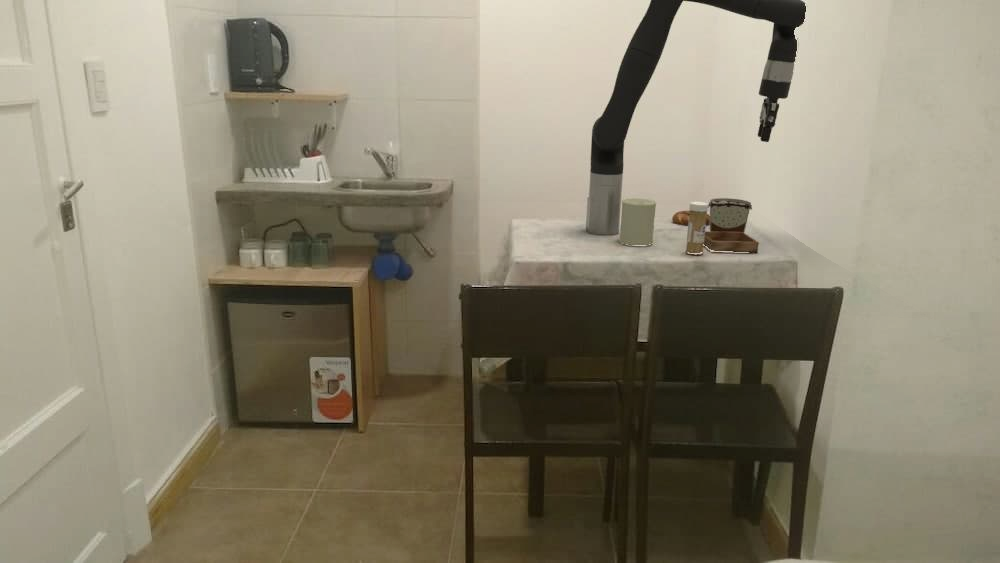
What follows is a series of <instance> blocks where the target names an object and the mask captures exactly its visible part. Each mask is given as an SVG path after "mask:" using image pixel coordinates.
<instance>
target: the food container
mask: <svg viewBox="0 0 1000 563" xmlns="http://www.w3.org/2000/svg"><path fill="white" fill-rule="evenodd" d="M708 209H709V215H710V224H709V231H712V232H743V233H745V231H746V227H747V222H748V219H749V214H750V210H751V211H752V210H753V207H752V202H751V201H748V200H745V199H740V198H728V197H727V198H725V197H723V198H722V197H721V198H719V197H718V198H712V199H710V201H709V202H708Z"/></svg>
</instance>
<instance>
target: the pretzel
mask: <svg viewBox="0 0 1000 563" xmlns="http://www.w3.org/2000/svg"><path fill="white" fill-rule="evenodd" d="M689 215H690V210H681V211H677V212H675V213H674V214H673V215H672V218H671V219H672V220H671V222H673V224H675V225H678V226H679V225H681V226H686V227H688V223H689ZM706 225H707V226H710V214H708V213H707V215H706Z"/></svg>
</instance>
